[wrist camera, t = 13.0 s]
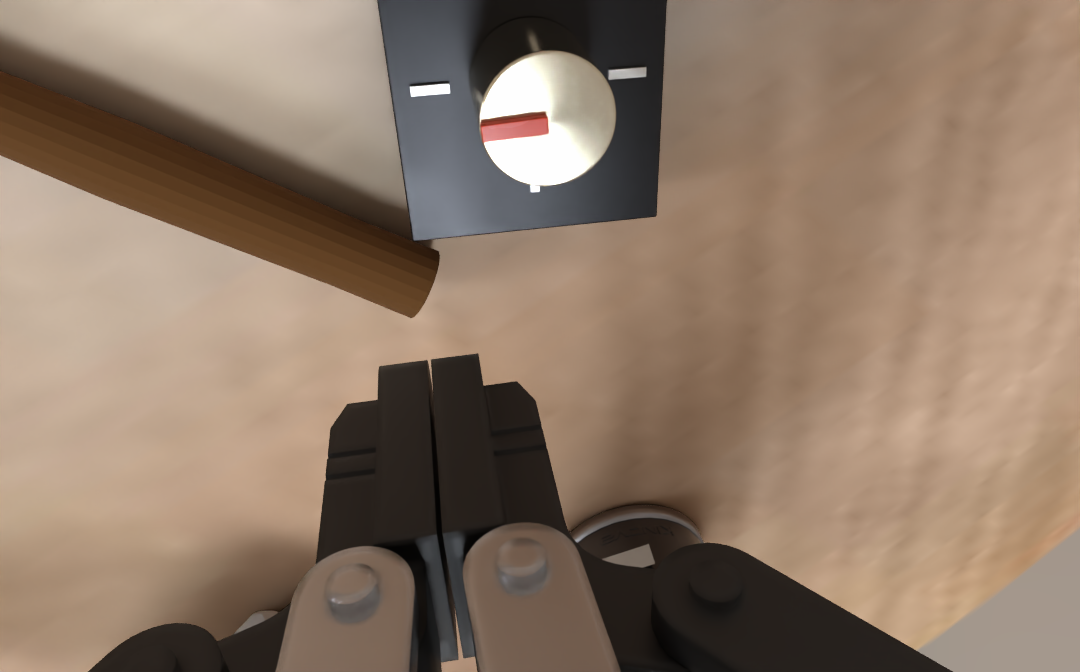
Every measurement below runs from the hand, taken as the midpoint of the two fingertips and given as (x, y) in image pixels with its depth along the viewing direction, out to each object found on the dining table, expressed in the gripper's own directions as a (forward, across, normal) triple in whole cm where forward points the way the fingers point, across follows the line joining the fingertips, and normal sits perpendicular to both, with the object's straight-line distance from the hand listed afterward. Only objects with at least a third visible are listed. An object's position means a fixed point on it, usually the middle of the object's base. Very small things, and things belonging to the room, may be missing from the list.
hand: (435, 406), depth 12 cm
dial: (+19, -4, 0) cm, 19 cm away
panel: (+22, -4, 0) cm, 22 cm away
